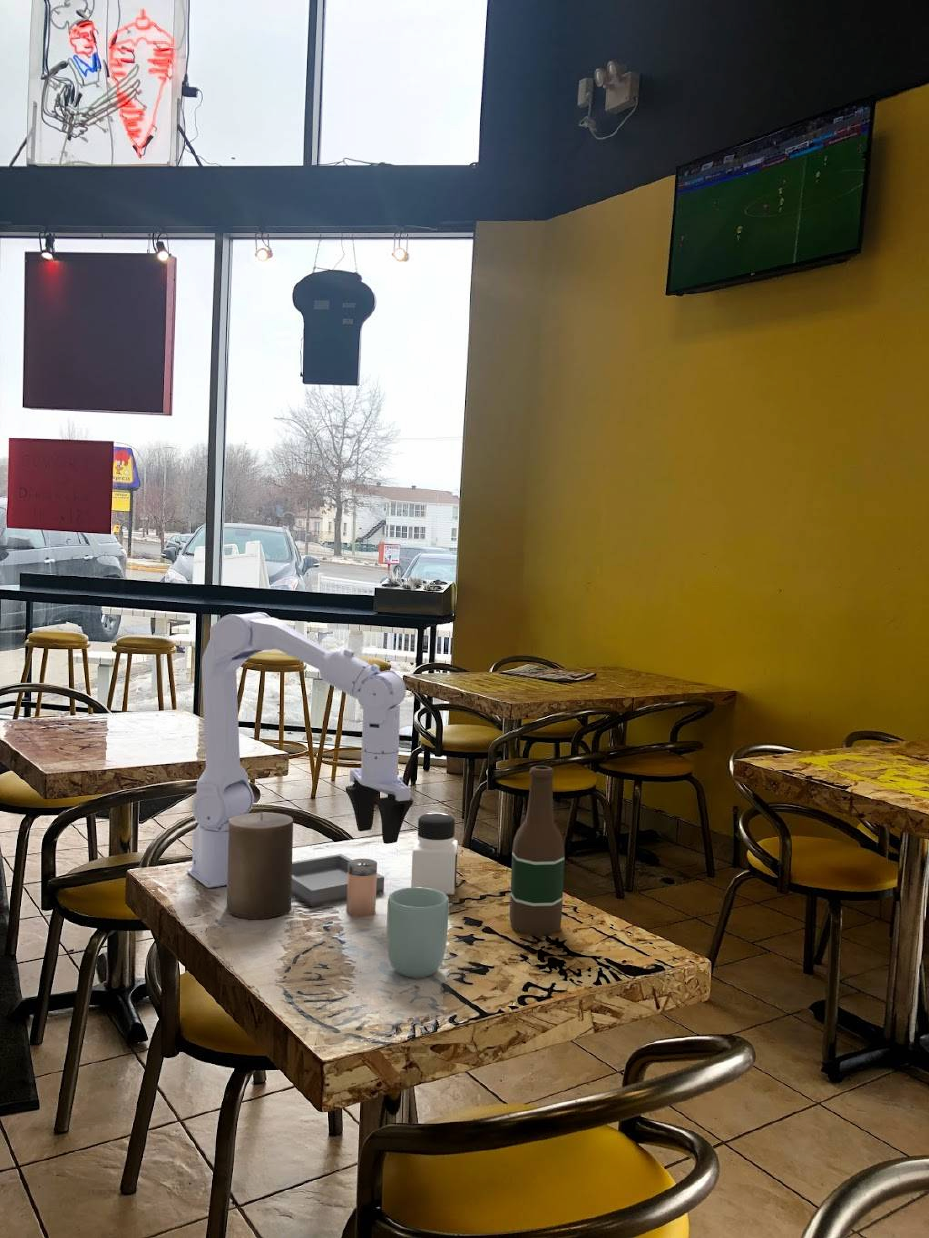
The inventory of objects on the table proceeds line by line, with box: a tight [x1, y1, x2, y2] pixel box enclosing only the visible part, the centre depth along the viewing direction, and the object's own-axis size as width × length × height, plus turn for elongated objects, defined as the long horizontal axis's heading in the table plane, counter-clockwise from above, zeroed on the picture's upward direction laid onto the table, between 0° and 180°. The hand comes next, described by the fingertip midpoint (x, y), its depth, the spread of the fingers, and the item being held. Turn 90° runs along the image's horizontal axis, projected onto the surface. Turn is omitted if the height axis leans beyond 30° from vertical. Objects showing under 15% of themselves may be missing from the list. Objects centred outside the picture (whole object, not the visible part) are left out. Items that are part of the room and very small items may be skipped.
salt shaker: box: [346, 858, 378, 918], centre depth 151 cm, size 4×4×8 cm
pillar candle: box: [226, 811, 294, 920], centre depth 151 cm, size 10×10×15 cm
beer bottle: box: [509, 765, 566, 937], centre depth 147 cm, size 8×8×24 cm
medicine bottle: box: [410, 812, 459, 896], centre depth 163 cm, size 7×7×12 cm
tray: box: [291, 853, 385, 907], centre depth 162 cm, size 14×13×2 cm
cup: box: [386, 886, 450, 979], centre depth 130 cm, size 8×8×10 cm
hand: (377, 836), depth 155 cm, fingers open, 7 cm apart
